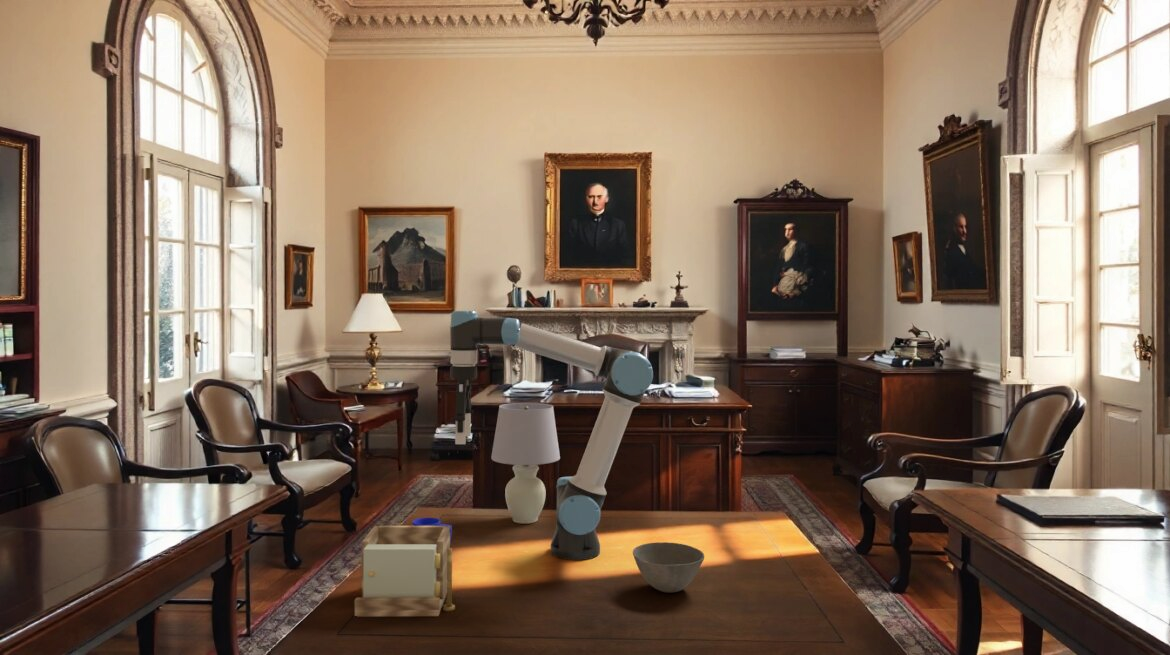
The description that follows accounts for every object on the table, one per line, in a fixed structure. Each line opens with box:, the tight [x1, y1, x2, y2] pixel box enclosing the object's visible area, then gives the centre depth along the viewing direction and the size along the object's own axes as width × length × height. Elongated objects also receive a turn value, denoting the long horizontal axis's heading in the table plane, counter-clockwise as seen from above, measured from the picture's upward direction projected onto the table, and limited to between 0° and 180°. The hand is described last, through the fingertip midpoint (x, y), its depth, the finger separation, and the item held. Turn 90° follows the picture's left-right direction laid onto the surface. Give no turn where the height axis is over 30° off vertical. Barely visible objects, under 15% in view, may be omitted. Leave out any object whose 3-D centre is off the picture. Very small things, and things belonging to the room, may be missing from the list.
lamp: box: [490, 402, 561, 525], centre depth 273 cm, size 24×24×40 cm
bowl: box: [632, 541, 705, 593], centre depth 208 cm, size 19×19×10 cm
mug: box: [412, 517, 453, 542], centre depth 235 cm, size 8×12×10 cm
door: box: [363, 544, 440, 598], centre depth 192 cm, size 18×5×14 cm, turn 93°
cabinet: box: [354, 525, 456, 617], centre depth 199 cm, size 23×21×16 cm
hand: (463, 439), depth 222 cm, fingers open, 13 cm apart
